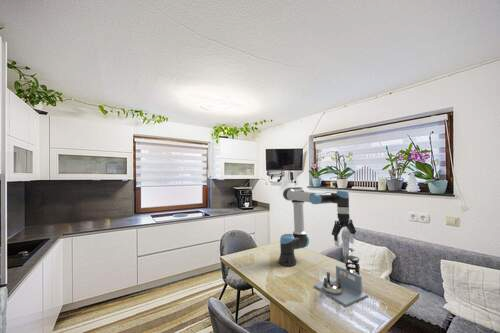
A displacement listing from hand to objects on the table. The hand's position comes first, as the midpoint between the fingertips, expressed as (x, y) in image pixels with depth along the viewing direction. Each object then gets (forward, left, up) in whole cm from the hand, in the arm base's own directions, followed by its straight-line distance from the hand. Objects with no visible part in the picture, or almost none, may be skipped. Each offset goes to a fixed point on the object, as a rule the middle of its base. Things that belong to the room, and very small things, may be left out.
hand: (344, 244), depth 136 cm
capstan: (0, -14, -26) cm, 29 cm away
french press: (0, +8, -28) cm, 29 cm away
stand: (+3, -10, -27) cm, 29 cm away
